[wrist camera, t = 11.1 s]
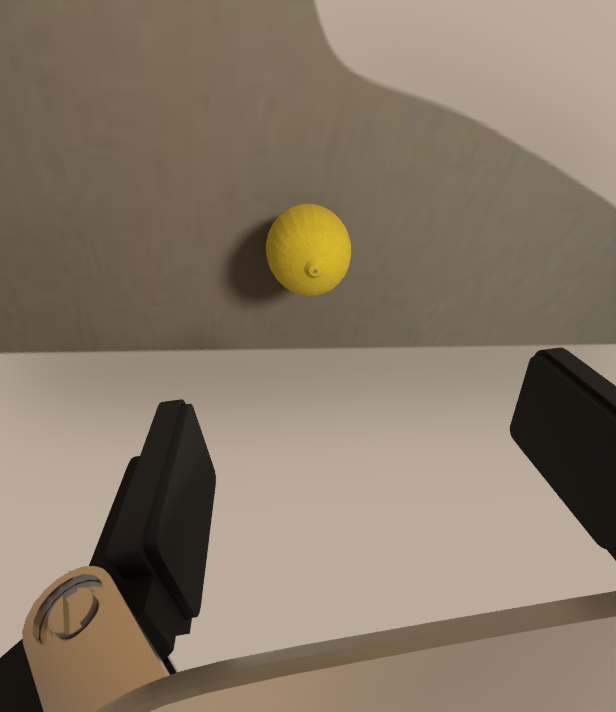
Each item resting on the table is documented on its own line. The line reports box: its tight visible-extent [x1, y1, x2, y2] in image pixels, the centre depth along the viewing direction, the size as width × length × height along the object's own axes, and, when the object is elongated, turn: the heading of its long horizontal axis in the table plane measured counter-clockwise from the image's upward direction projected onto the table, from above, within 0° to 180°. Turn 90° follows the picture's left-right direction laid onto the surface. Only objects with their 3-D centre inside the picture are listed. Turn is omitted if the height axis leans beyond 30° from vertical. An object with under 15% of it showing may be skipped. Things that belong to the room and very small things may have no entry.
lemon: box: [266, 204, 351, 296], centre depth 24 cm, size 6×6×8 cm
